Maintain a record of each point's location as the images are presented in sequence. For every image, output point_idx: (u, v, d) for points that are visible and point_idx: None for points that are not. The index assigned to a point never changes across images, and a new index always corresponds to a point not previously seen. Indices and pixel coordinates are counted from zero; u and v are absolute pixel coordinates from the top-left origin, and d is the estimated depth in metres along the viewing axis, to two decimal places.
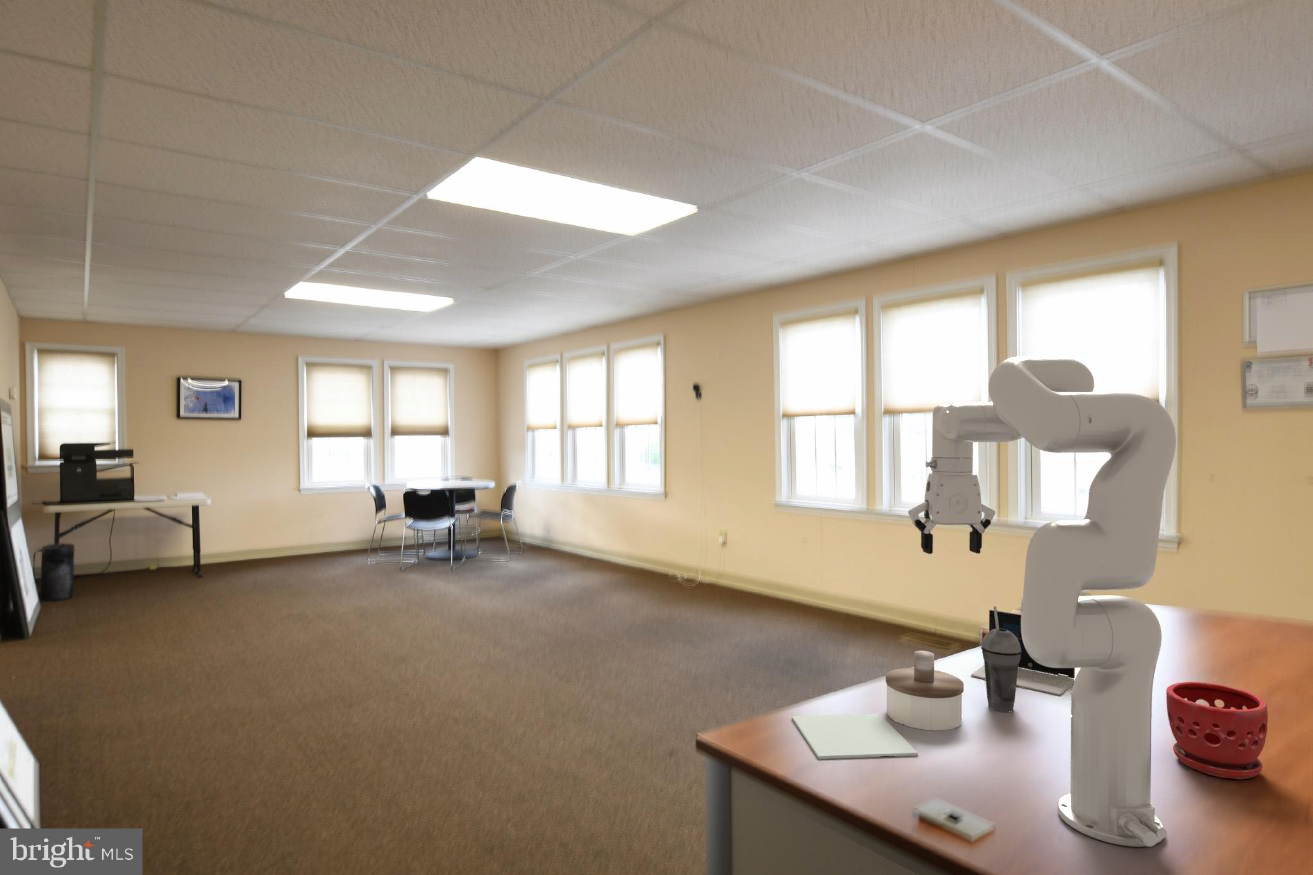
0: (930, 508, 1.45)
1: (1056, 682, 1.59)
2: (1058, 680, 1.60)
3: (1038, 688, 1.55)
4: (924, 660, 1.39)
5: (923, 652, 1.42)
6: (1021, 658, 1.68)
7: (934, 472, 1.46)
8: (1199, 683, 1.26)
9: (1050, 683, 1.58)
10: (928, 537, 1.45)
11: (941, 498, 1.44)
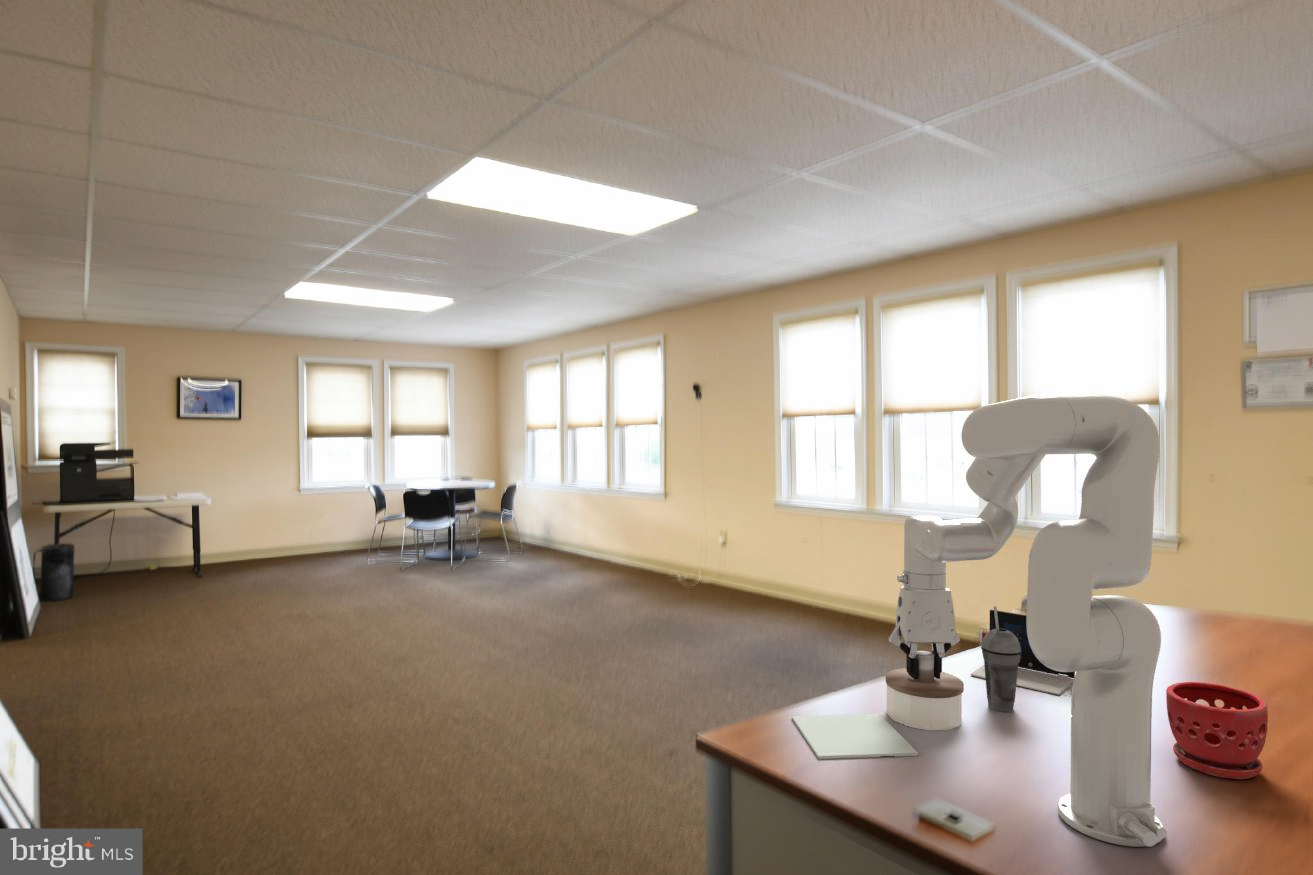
0: (902, 625, 1.39)
1: (1056, 682, 1.59)
2: (1058, 680, 1.60)
3: (1037, 688, 1.55)
4: (924, 660, 1.39)
5: (923, 652, 1.42)
6: (1021, 658, 1.68)
7: (906, 587, 1.40)
8: (1199, 683, 1.26)
9: (1050, 683, 1.58)
10: (914, 661, 1.40)
11: (913, 616, 1.38)
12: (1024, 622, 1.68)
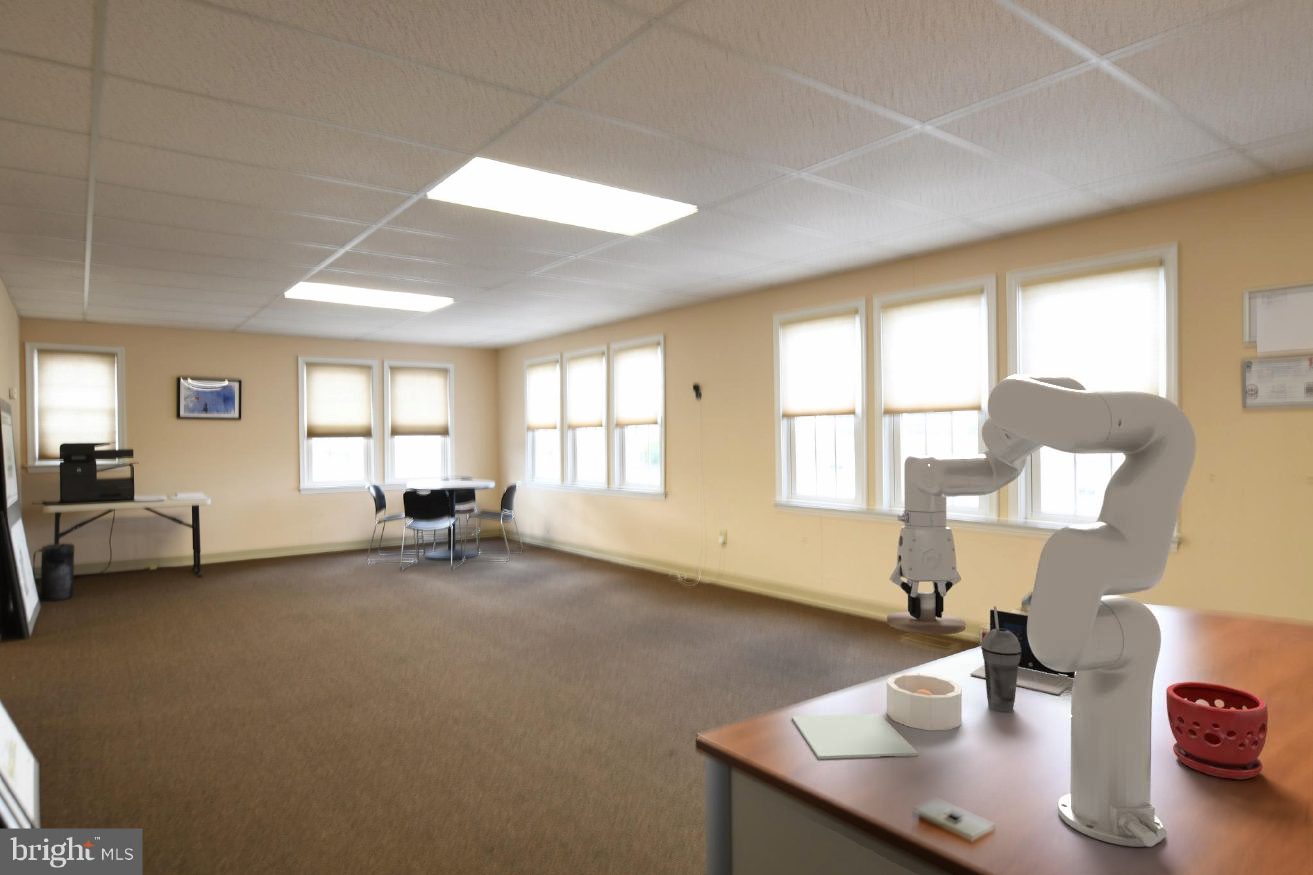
0: (903, 564, 1.39)
1: (1056, 682, 1.59)
2: (1058, 680, 1.60)
3: (1037, 687, 1.55)
4: (926, 599, 1.39)
5: (925, 592, 1.41)
6: (1022, 658, 1.68)
7: (906, 526, 1.40)
8: (1199, 683, 1.26)
9: (1050, 683, 1.58)
10: (915, 601, 1.39)
11: (914, 554, 1.38)
12: (1024, 622, 1.68)
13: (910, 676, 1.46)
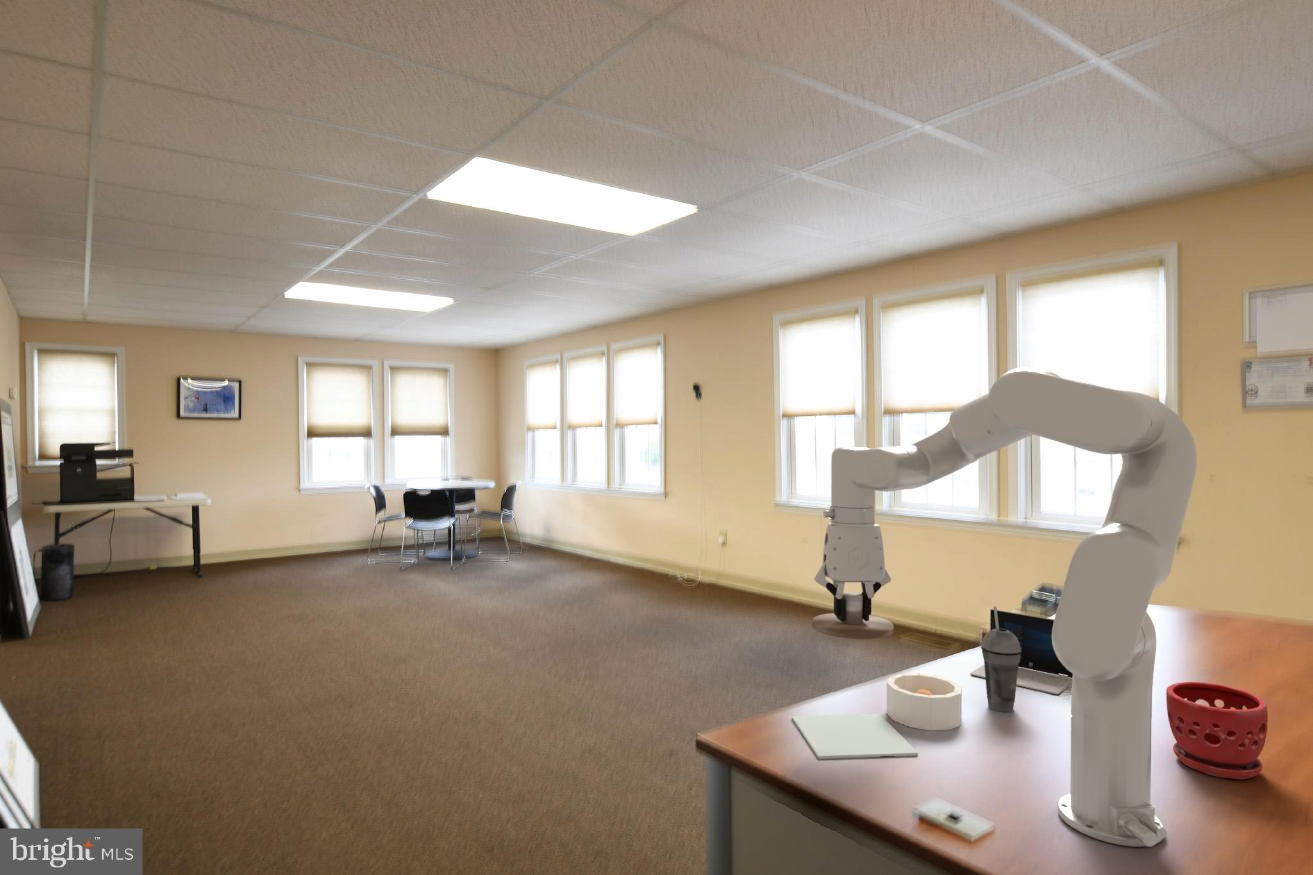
0: (827, 563, 1.29)
1: (1055, 682, 1.59)
2: (1058, 680, 1.60)
3: (1036, 687, 1.55)
4: (852, 601, 1.30)
5: (852, 593, 1.32)
6: (1022, 658, 1.68)
7: (832, 523, 1.31)
8: (1199, 683, 1.26)
9: (1049, 683, 1.58)
10: (840, 602, 1.30)
11: (839, 553, 1.28)
12: (1025, 622, 1.68)
13: (910, 676, 1.46)
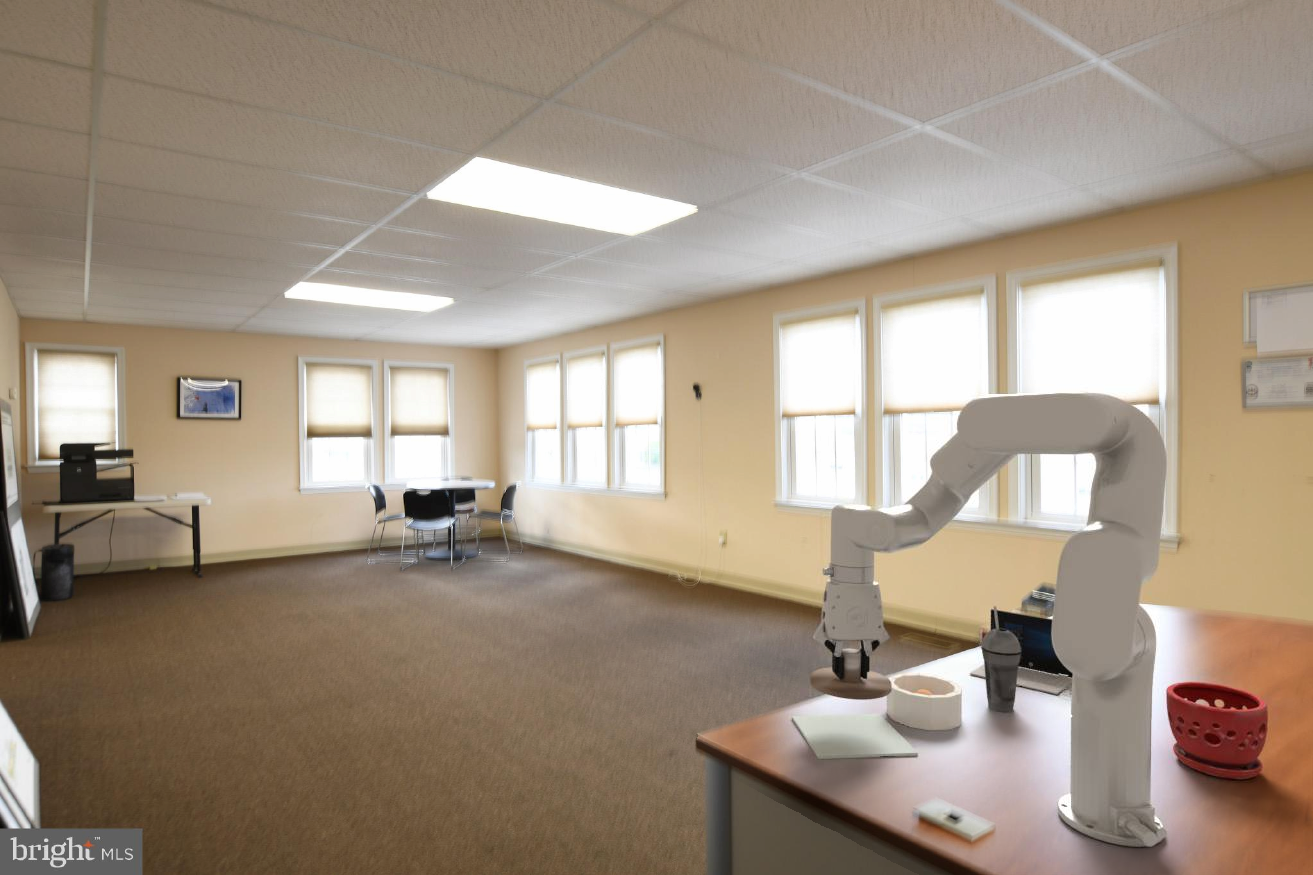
0: (826, 622, 1.30)
1: (1055, 682, 1.59)
2: (1058, 680, 1.60)
3: (1036, 687, 1.56)
4: (850, 658, 1.30)
5: (850, 650, 1.33)
6: (1022, 657, 1.68)
7: (831, 580, 1.31)
8: (1199, 683, 1.26)
9: (1049, 683, 1.58)
10: (839, 660, 1.30)
11: (837, 611, 1.29)
12: (1025, 622, 1.68)
13: (910, 676, 1.46)
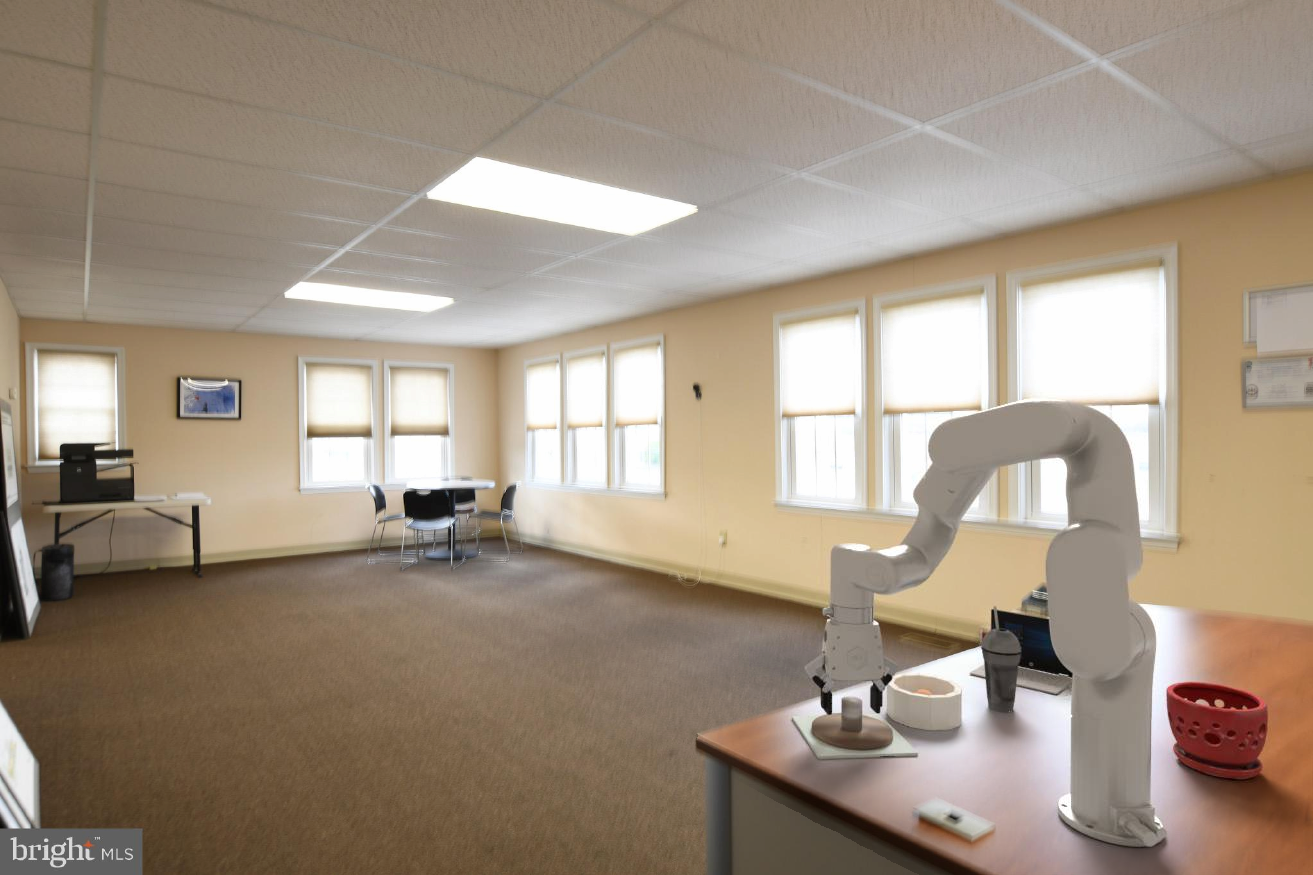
0: (826, 662, 1.30)
1: (1055, 682, 1.59)
2: (1057, 680, 1.60)
3: (1035, 687, 1.56)
4: (851, 708, 1.30)
5: (851, 698, 1.33)
6: (1022, 657, 1.68)
7: (831, 620, 1.31)
8: (1199, 683, 1.26)
9: (1049, 683, 1.58)
10: (827, 696, 1.30)
11: (838, 652, 1.29)
12: (1025, 622, 1.68)
13: (910, 676, 1.46)
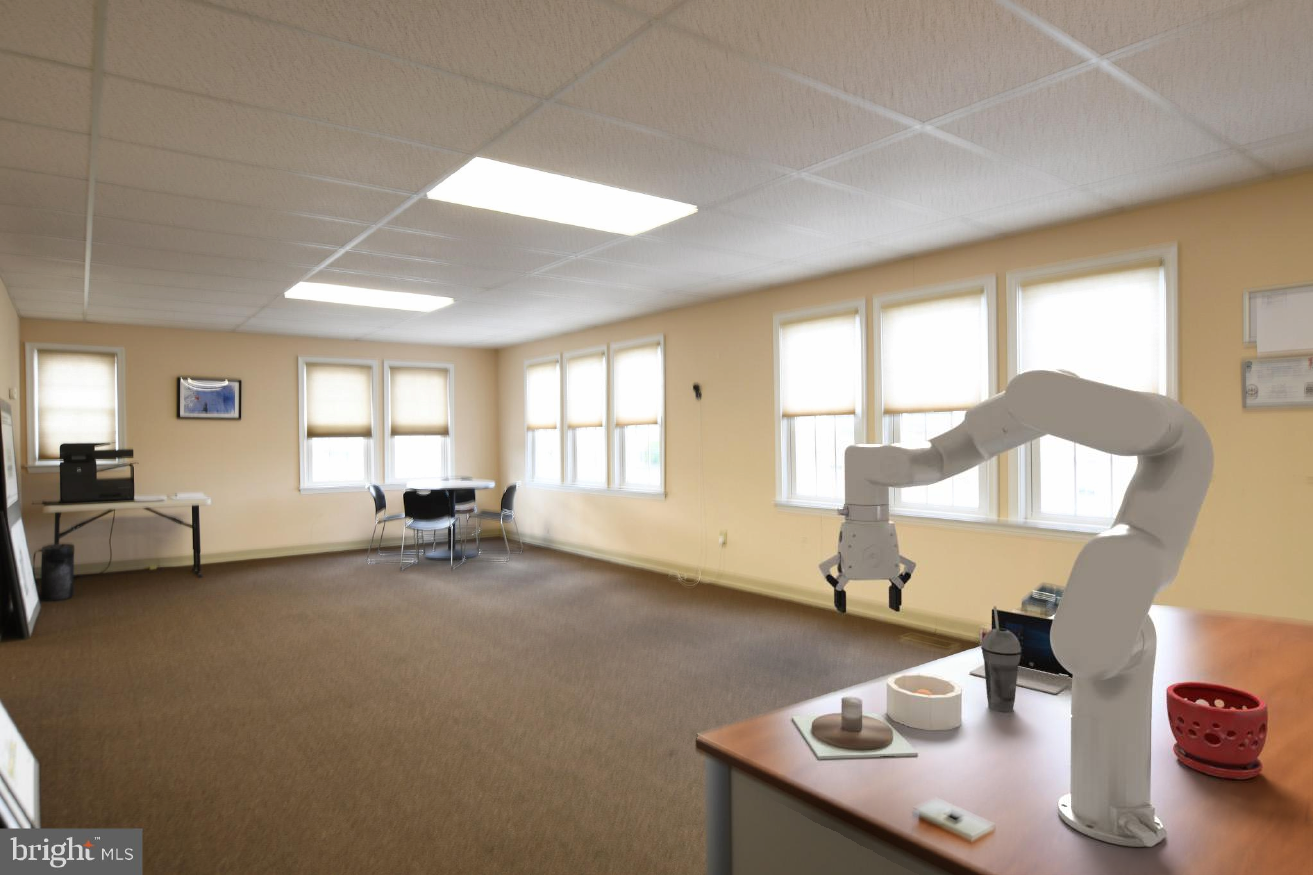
0: (842, 562, 1.28)
1: (1055, 681, 1.59)
2: (1057, 680, 1.60)
3: (1034, 687, 1.56)
4: (851, 708, 1.30)
5: (851, 698, 1.33)
6: (1023, 657, 1.69)
7: (847, 521, 1.30)
8: (1199, 683, 1.26)
9: (1048, 682, 1.58)
10: (841, 594, 1.29)
11: (854, 550, 1.28)
12: (1025, 622, 1.68)
13: (910, 676, 1.46)
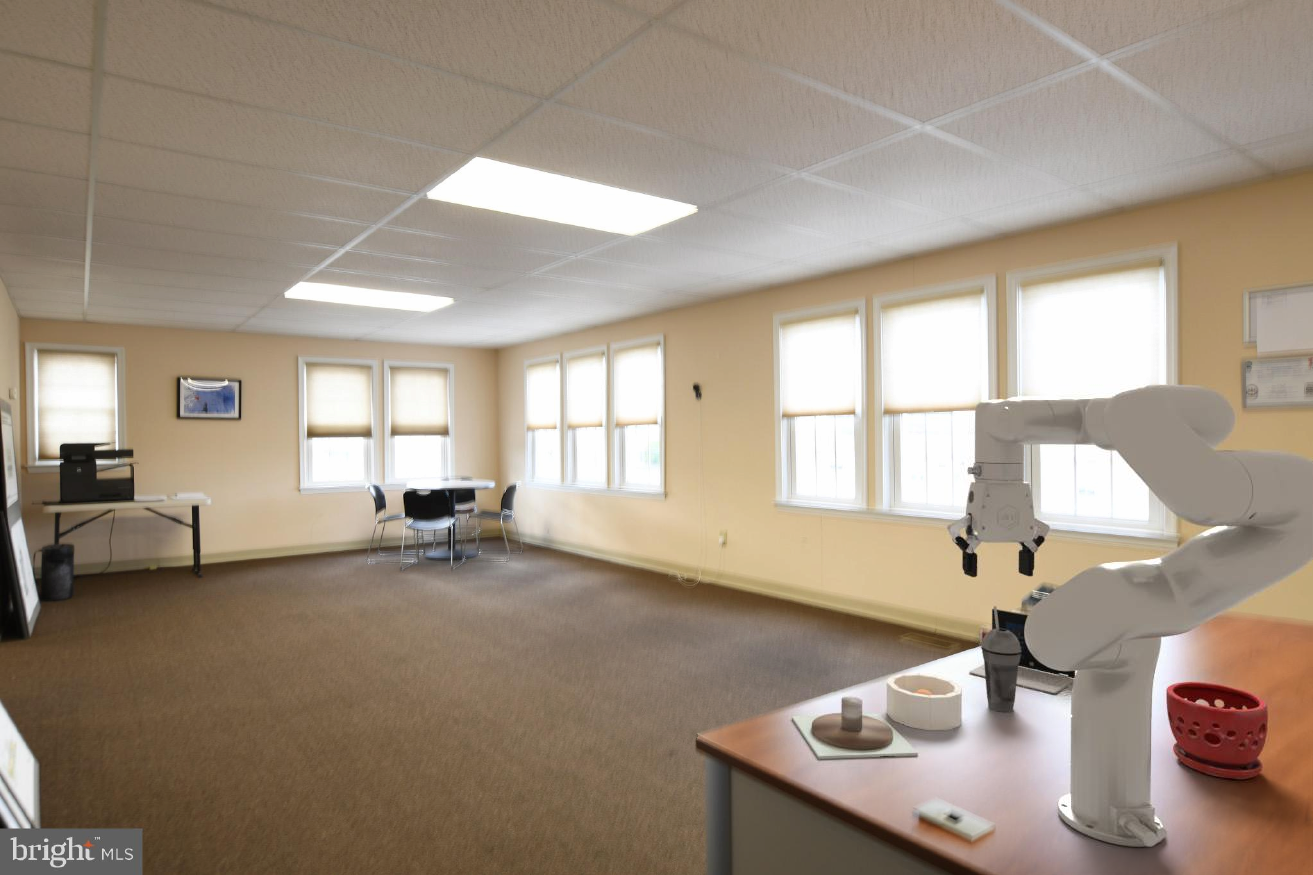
0: (974, 523, 1.22)
1: (1055, 681, 1.59)
2: (1057, 679, 1.60)
3: (1034, 686, 1.56)
4: (851, 708, 1.30)
5: (851, 698, 1.33)
6: (1023, 657, 1.69)
7: (978, 480, 1.23)
8: (1199, 683, 1.26)
9: (1048, 682, 1.59)
10: (971, 557, 1.23)
11: (987, 511, 1.21)
12: (1025, 621, 1.68)
13: (910, 676, 1.46)
